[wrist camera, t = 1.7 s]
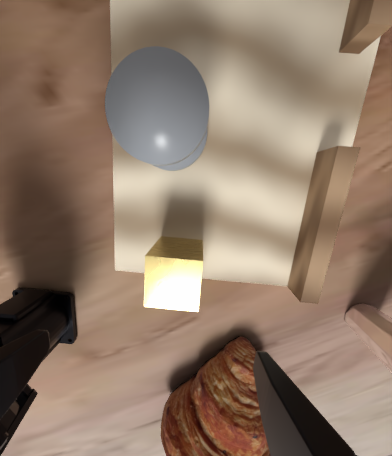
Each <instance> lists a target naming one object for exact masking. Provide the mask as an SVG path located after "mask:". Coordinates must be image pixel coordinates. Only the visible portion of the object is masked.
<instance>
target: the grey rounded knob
mask: <svg viewBox="0 0 392 456" xmlns="http://www.w3.org/2000/svg"><path fill="white" fill-rule="evenodd" d="M105 111H106V117H107V121H108V124H109V127H110V130H111V132H112V134H113V136H114V137H115V139H116V141H117V142H118V143H119V145H120V146H121V147H122V148H123V149H124V150H125V151H126V152H127V153H129V154H130V155H131V156H133V157H135V158H136V159H138V160H140V161H143V162H145V163H148V164H151V165H153V166H155V167H158V168H160V169H163V170H167V171H178V170H182V169H185V168H187V167H189V166H190V165H192V164H193V163H194V162H195V161H196V160H197V159H198V158H199V157H200V155H201V154H202V152H203V150H204V147H205V144H206V140H207V126H208V120H209V97H208V92H207V88H206V85H205V82H204V80H203V78H202V76H201V74H200V73H199V71H198V70H197V68H196V67H195V66H194V65H193V63H192V62H191V61H190V60H188V59H187V58H186V57H185V56H183V55H182V54H180V53H179V52H177V51H175V50H172V49H169V48H166V47H159V46H151V47H145V48H142V49H139V50H136V51H134V52H133V53H131V54H129V55H128V56H127V57H125V58H124V59H123V60H122V61H121V62H120V63H119V64H118V66H117V67H116V68H115V70H114V72H113V73H112V75H111V77H110V80H109V82H108V86H107V89H106V96H105Z"/></svg>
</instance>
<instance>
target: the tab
mask: <svg viewBox="0 0 392 456" xmlns="http://www.w3.org/2000/svg"><path fill="white" fill-rule="evenodd" d="M202 269H203V240H199V239H188V238H177V237H166V236H161V237H160V238H159V239H158V241H157V242H156V243H155V244H154V245H153V247H152V248H151V249H150V250H149V251H148V253H147V254H146V255H145V279H144V307H152V308H163V309H173V310H183V311H194V312H198V309H199V299H200V289H201V279H202Z"/></svg>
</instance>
